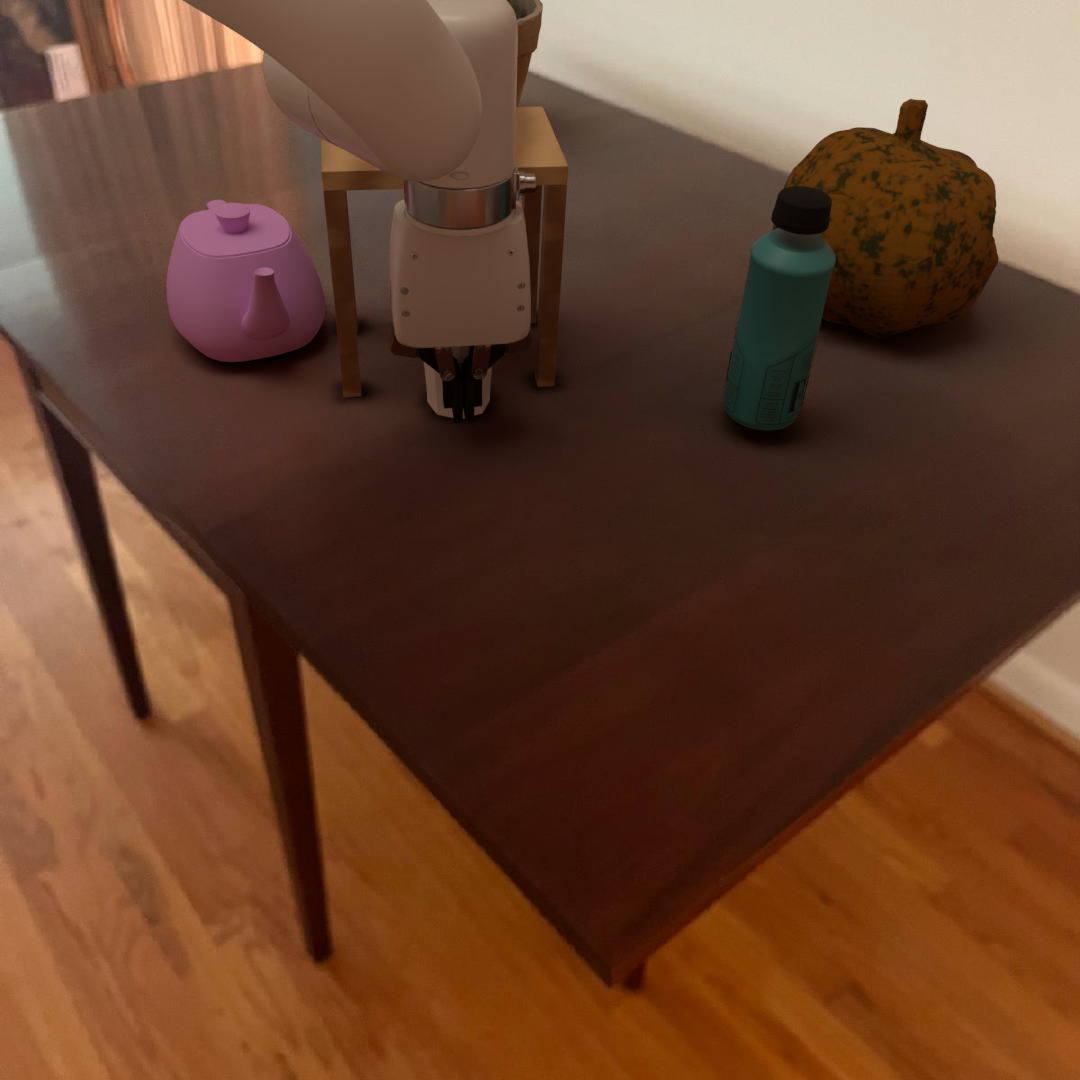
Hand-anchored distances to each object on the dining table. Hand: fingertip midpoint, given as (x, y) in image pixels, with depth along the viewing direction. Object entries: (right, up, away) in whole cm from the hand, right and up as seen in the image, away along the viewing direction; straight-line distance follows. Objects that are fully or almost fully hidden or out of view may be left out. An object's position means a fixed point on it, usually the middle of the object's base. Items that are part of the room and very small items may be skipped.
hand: (462, 412), depth 84 cm
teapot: (-19, +8, +11) cm, 24 cm away
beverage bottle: (+24, -1, +4) cm, 25 cm away
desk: (-2, +6, +10) cm, 12 cm away
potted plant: (-3, +40, +47) cm, 62 cm away
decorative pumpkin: (+38, +13, +20) cm, 45 cm away
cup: (-1, +1, +5) cm, 5 cm away
